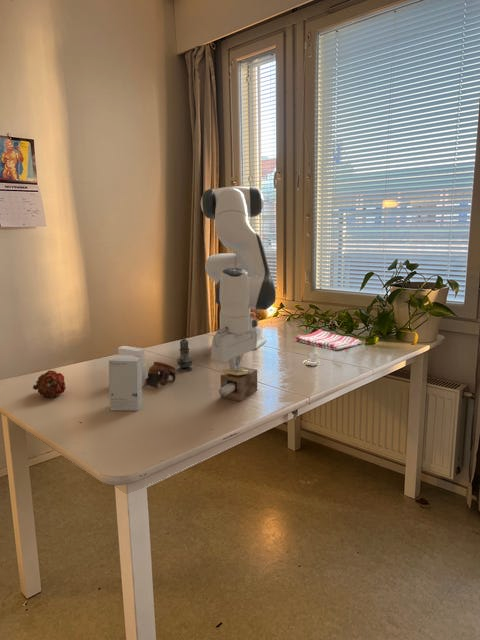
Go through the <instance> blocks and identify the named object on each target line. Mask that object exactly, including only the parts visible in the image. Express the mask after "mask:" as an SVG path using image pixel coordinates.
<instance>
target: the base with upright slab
mask: <svg viewBox="0 0 480 640" xmlns="http://www.w3.org/2000/svg"><path fill="white" fill-rule="evenodd" d="M117 354H118V355H130V356H141V373H142V387H144V386H147V385H146V378H148V374H147V364H146V363H145V361H146V359H145V349H144V348H143V347H142V348H140V347H134V346H127V345H122V346H119V347H118V348H117Z"/></svg>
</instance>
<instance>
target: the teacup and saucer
mask: <svg viewBox="0 0 480 640" xmlns="http://www.w3.org/2000/svg"><path fill="white" fill-rule="evenodd" d="M307 360H308V359H305V360H303V363H302V364H304V362H305V361H307ZM309 360H310V361H307V362H306V363H307V365H306V366H309V365H311V366H312V367H316V366H315V365H318V364H317V362H318V361H317V360H319V353H318V352H314V351H312V352H309ZM311 366H310V367H311Z"/></svg>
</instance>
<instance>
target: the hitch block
mask: <svg viewBox="0 0 480 640" xmlns="http://www.w3.org/2000/svg"><path fill="white" fill-rule="evenodd" d="M240 369H241V370H246V371H249V374H243V375H233V374H228V373H221V374H220V388H222V387H223V386H225V385H227V384H229V383H231V382H233V381H234V382H237V389H236V390H234V391H233V392H231V393H229V394H228V395H226V396H221V395H220V397H221V398H224V399H227V400H233V401H236V402H242V401H244V400H246V399H247V398H249V397H250V396H252V395H253V394H255V393H257V392H258V369H255V368H251V367H244V366H240ZM256 391H257V392H256ZM254 392H255V393H254ZM251 394H252V395H251Z"/></svg>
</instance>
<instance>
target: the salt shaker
mask: <svg viewBox="0 0 480 640" xmlns="http://www.w3.org/2000/svg"><path fill="white" fill-rule="evenodd" d="M182 338H183V339H181V340H180V341H179V347H180V348H179V349H178V351H179V355H180V356H179V357H178V358H177V359H176V362H177V363H176V364H177V366H178V368H177V371H178V372H182V373H183V372H184V373H185V372H186V373H187V372H191V371H193V368H192V367H191V365H192V364H193V361H194V359H193V358H192V357H190V348H189V341H188V340H187V339H186V337H185V336H184V337H182Z"/></svg>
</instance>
